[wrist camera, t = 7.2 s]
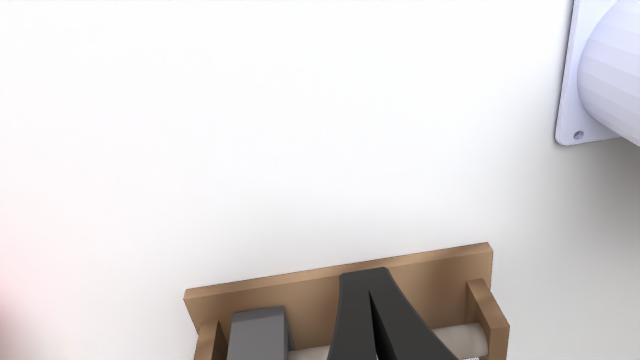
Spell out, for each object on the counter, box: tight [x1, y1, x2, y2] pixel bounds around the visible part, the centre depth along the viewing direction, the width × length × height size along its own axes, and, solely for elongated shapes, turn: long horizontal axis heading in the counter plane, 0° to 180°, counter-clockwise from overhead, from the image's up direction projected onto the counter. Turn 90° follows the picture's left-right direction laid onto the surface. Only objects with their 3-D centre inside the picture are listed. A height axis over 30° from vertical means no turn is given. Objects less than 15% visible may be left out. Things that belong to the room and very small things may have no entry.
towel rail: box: [183, 242, 510, 360], centre depth 26 cm, size 18×8×4 cm, turn 98°
